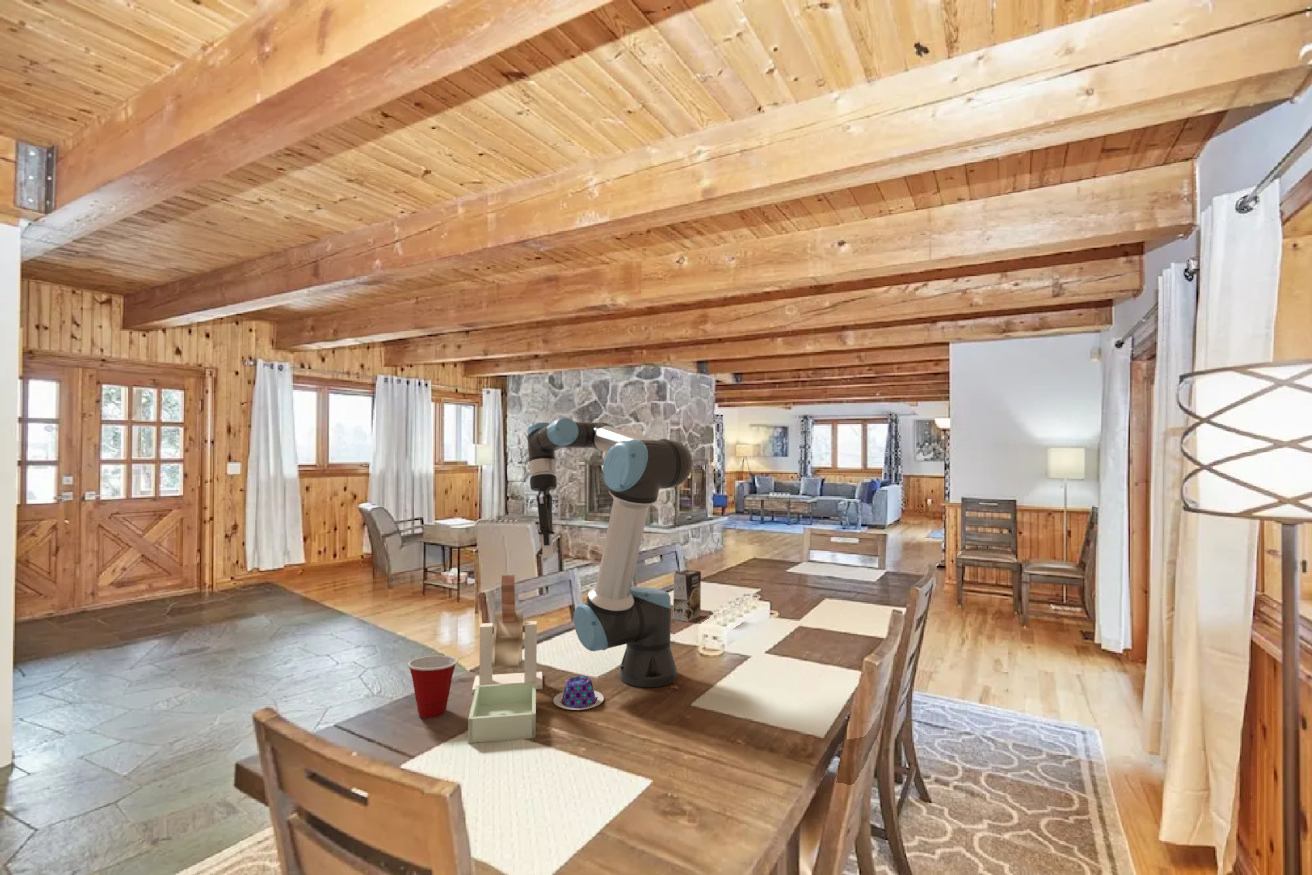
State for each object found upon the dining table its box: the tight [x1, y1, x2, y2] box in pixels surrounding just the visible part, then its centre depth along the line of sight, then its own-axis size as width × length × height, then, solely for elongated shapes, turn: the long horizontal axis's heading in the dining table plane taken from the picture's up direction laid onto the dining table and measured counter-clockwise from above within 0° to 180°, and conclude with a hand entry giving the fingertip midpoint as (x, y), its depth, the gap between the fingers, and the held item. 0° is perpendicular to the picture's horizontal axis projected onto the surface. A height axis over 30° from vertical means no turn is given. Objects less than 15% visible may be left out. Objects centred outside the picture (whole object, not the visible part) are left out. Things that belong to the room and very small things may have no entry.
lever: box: [491, 574, 524, 670], centre depth 150 cm, size 16×7×15 cm
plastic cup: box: [407, 655, 459, 719], centre depth 142 cm, size 11×11×12 cm
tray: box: [467, 682, 537, 744], centre depth 137 cm, size 18×14×5 cm
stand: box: [471, 620, 543, 694], centre depth 159 cm, size 9×17×16 cm, turn 101°
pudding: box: [553, 675, 605, 711], centre depth 149 cm, size 12×12×5 cm
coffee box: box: [672, 569, 702, 623], centre depth 219 cm, size 9×6×16 cm
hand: (548, 557), depth 175 cm, fingers closed
